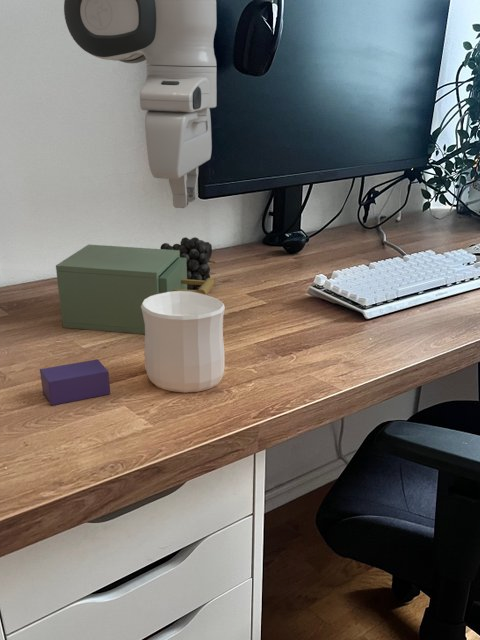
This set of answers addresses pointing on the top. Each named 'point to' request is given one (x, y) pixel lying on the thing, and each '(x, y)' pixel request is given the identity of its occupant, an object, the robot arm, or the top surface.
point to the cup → (184, 341)
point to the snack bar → (75, 381)
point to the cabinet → (110, 286)
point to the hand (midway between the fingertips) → (184, 204)
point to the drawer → (181, 279)
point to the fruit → (194, 258)
